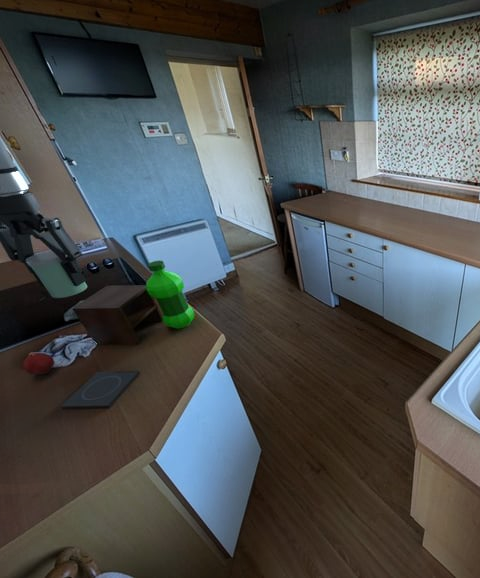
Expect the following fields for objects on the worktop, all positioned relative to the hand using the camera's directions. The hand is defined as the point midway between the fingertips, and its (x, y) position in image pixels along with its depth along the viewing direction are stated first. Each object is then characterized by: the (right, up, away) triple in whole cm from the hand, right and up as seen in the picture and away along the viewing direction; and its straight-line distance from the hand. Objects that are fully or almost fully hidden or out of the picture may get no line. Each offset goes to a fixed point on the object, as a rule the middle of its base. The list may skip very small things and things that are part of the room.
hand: (64, 283), depth 76 cm
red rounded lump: (-18, -27, +12) cm, 34 cm away
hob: (+4, -30, +7) cm, 31 cm away
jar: (0, -2, +1) cm, 2 cm away
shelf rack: (-7, -17, +28) cm, 34 cm away
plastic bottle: (+8, -15, +32) cm, 36 cm away
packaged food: (-30, -11, +37) cm, 49 cm away
